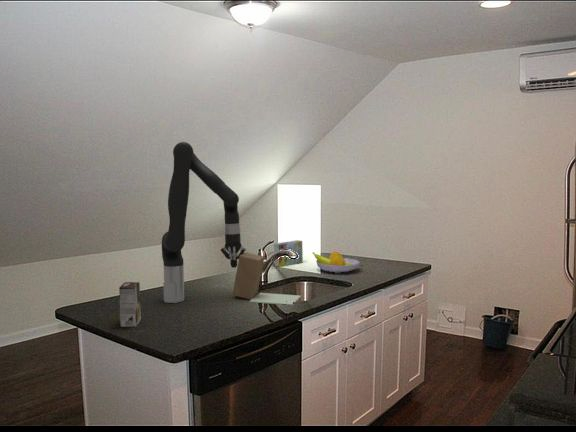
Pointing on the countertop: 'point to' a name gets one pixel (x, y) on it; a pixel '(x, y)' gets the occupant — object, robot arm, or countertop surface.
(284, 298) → the felt mat
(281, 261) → the snack box
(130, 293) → the coffee box
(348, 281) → the countertop surface
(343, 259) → the fruit bowl
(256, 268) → the wooden block
